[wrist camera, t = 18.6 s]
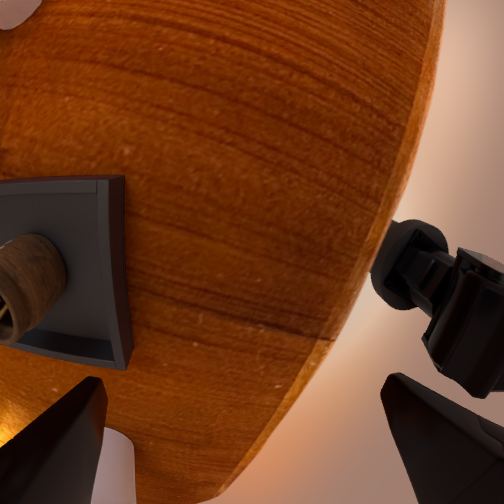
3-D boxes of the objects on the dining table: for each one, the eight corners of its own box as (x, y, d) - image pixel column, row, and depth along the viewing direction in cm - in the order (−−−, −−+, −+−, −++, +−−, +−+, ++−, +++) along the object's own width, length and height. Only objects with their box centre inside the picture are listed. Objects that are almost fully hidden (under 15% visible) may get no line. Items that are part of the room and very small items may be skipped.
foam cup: (136, 465, 28) (128, 545, 16) (71, 440, 26) (50, 518, 13) (155, 437, 26) (147, 537, 14) (77, 406, 23) (46, 503, 11)
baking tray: (124, 174, 17) (109, 179, 14) (134, 347, 22) (126, 371, 19) (-28, 183, 15) (-49, 189, 12) (-3, 322, 19) (-18, 338, 16)
